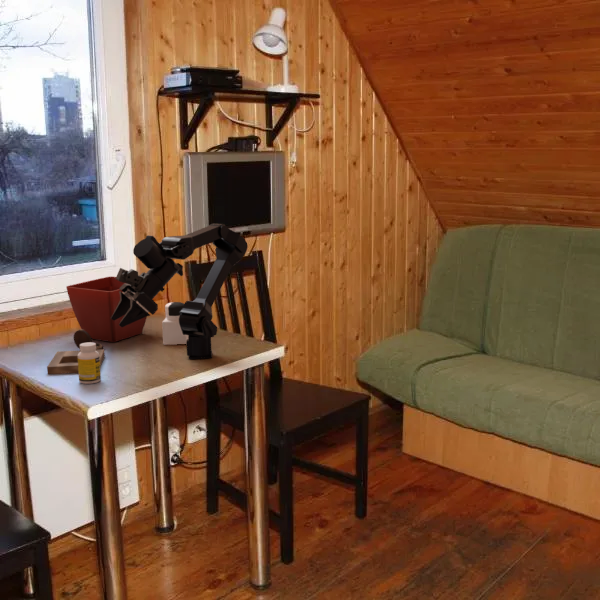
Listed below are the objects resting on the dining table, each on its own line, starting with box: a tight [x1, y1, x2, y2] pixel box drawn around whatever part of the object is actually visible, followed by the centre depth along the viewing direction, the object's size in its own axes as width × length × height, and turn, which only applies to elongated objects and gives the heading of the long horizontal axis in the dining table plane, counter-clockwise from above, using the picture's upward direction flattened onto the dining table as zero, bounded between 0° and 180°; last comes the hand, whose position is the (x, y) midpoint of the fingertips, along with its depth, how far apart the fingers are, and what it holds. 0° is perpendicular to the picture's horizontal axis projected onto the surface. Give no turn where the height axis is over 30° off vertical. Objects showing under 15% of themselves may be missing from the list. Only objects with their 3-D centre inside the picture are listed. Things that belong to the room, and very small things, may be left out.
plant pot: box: [66, 276, 148, 343], centre depth 240 cm, size 19×19×17 cm
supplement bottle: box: [78, 341, 102, 385], centre depth 196 cm, size 5×5×10 cm
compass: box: [73, 329, 105, 350], centre depth 225 cm, size 8×8×7 cm
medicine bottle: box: [161, 301, 188, 346], centre depth 233 cm, size 7×7×12 cm
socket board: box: [46, 349, 106, 375], centre depth 212 cm, size 13×15×2 cm
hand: (116, 322), depth 199 cm, fingers open, 9 cm apart
